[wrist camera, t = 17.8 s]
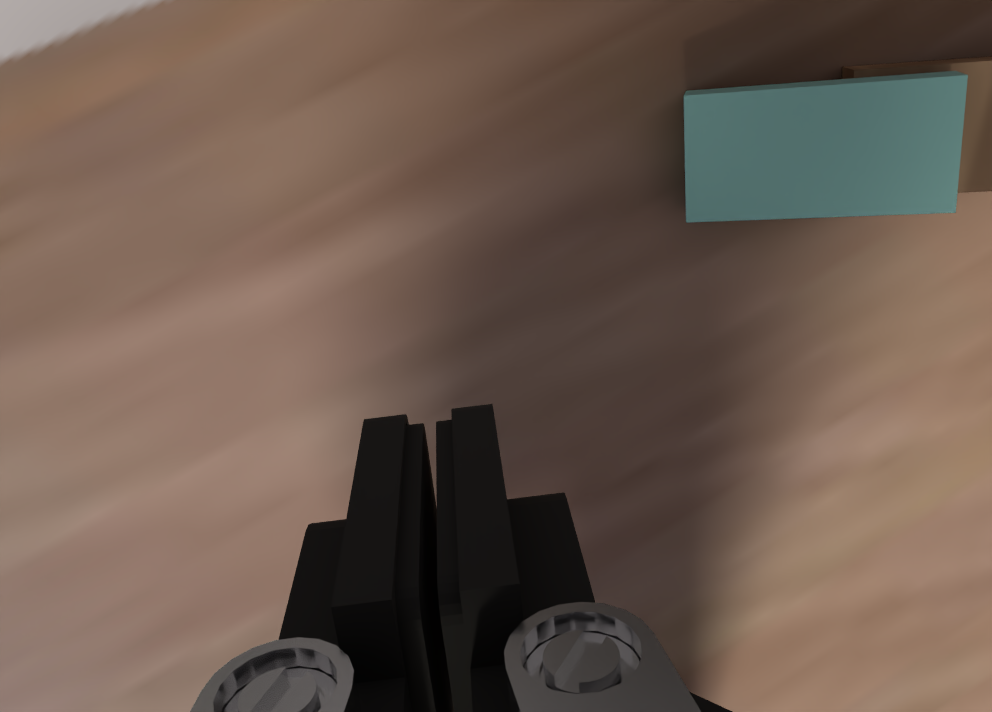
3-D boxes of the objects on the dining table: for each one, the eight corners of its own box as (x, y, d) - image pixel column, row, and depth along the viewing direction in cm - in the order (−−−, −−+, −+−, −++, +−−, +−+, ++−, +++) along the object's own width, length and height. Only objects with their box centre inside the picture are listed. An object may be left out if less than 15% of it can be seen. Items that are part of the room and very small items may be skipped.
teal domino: (686, 90, 36) (955, 70, 34) (688, 211, 38) (944, 201, 36) (683, 95, 35) (967, 74, 32) (686, 222, 36) (955, 212, 34)
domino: (842, 66, 36) (1109, 48, 35) (835, 188, 38) (1088, 176, 37) (854, 70, 35) (1136, 50, 33) (846, 198, 36) (1113, 185, 35)
